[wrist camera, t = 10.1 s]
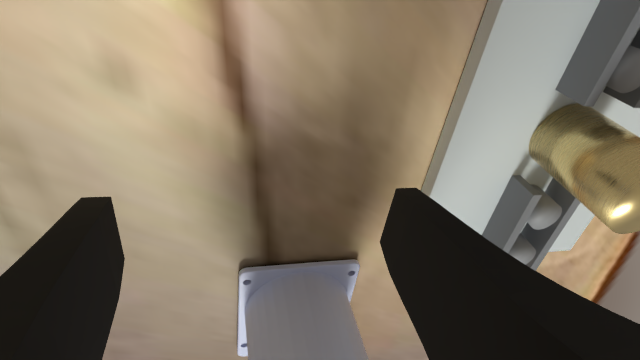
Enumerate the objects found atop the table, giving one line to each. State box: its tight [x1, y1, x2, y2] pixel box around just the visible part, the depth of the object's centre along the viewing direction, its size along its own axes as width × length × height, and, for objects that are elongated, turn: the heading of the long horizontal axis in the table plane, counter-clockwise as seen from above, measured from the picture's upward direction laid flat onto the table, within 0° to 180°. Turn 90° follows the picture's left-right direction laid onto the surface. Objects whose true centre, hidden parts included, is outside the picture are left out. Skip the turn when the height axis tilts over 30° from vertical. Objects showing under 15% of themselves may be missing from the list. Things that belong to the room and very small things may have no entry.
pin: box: [529, 103, 640, 234], centre depth 20 cm, size 4×4×6 cm
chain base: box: [421, 0, 640, 271], centre depth 22 cm, size 20×14×3 cm
